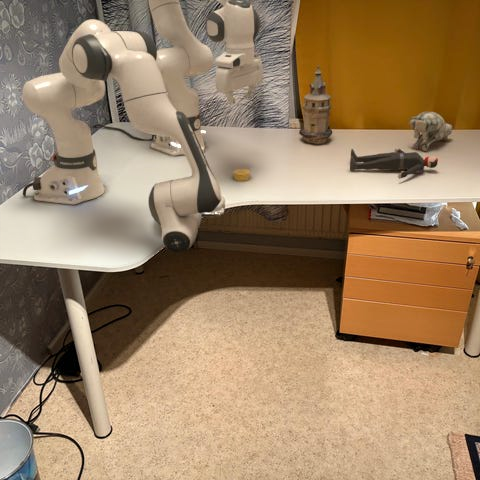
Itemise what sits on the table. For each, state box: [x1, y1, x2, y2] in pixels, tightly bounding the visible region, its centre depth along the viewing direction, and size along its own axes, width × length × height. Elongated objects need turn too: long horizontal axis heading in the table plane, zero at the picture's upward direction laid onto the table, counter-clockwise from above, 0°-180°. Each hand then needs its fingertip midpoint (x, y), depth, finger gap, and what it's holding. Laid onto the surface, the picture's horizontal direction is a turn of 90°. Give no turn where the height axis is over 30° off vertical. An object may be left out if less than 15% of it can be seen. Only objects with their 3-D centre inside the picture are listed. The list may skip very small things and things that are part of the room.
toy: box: [349, 148, 439, 180], centre depth 190 cm, size 26×6×30 cm
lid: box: [233, 168, 250, 182], centre depth 186 cm, size 5×5×2 cm
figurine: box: [408, 111, 453, 152], centre depth 210 cm, size 10×19×20 cm
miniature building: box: [298, 65, 333, 145], centre depth 213 cm, size 13×14×30 cm
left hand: (193, 194), depth 162 cm, fingers open, 8 cm apart
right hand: (240, 101), depth 174 cm, fingers open, 8 cm apart
